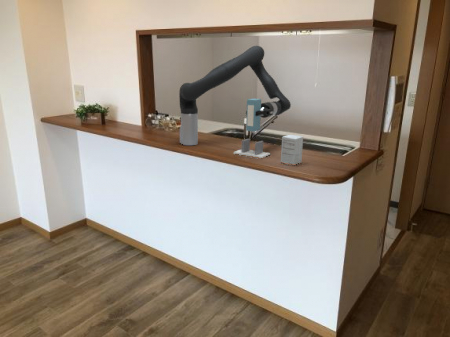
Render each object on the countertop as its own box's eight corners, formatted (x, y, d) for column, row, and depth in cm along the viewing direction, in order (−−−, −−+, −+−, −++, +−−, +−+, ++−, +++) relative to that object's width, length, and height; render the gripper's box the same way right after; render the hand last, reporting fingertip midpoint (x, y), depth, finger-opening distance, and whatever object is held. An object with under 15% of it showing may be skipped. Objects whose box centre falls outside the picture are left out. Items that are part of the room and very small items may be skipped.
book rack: (233, 154, 186) (234, 140, 184) (242, 150, 193) (243, 137, 191) (261, 159, 178) (262, 144, 176) (270, 155, 185) (271, 141, 183)
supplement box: (287, 160, 177) (289, 134, 174) (301, 162, 173) (303, 136, 169) (279, 163, 172) (281, 136, 168) (294, 166, 167) (296, 138, 164)
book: (245, 130, 181) (246, 99, 176) (252, 128, 186) (253, 98, 181) (253, 131, 178) (255, 100, 174) (260, 129, 183) (261, 99, 179)
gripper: (255, 101, 194) (238, 104, 180) (280, 103, 187) (265, 106, 173) (255, 115, 196) (238, 119, 182) (279, 118, 189) (264, 122, 175)
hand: (251, 113), depth 178 cm, fingers closed on book, 4 cm apart
